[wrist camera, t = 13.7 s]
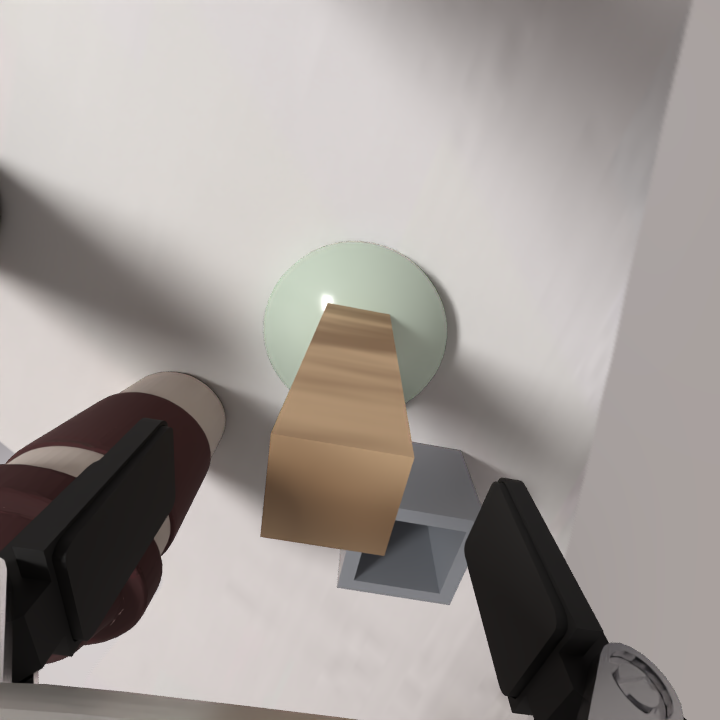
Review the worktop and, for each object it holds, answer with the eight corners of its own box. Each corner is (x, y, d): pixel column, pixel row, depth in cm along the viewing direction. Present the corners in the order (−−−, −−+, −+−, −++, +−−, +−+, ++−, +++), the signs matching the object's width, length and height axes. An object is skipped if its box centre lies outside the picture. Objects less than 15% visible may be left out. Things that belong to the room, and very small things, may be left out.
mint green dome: (277, 222, 22) (272, 224, 21) (466, 262, 22) (471, 265, 21) (261, 392, 27) (256, 400, 26) (418, 420, 27) (420, 429, 26)
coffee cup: (87, 393, 27) (-203, 588, 13) (181, 326, 25) (-55, 480, 11) (180, 480, 30) (22, 710, 17) (271, 428, 28) (174, 646, 14)
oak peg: (327, 302, 23) (270, 433, 10) (389, 314, 23) (414, 457, 10) (318, 359, 24) (260, 536, 11) (377, 370, 24) (384, 555, 12)
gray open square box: (361, 432, 28) (358, 501, 21) (461, 450, 28) (487, 523, 22) (343, 508, 31) (336, 587, 25) (433, 523, 31) (449, 605, 25)
